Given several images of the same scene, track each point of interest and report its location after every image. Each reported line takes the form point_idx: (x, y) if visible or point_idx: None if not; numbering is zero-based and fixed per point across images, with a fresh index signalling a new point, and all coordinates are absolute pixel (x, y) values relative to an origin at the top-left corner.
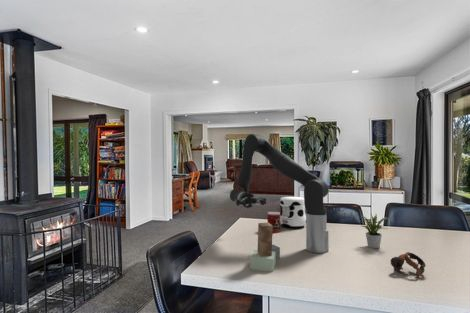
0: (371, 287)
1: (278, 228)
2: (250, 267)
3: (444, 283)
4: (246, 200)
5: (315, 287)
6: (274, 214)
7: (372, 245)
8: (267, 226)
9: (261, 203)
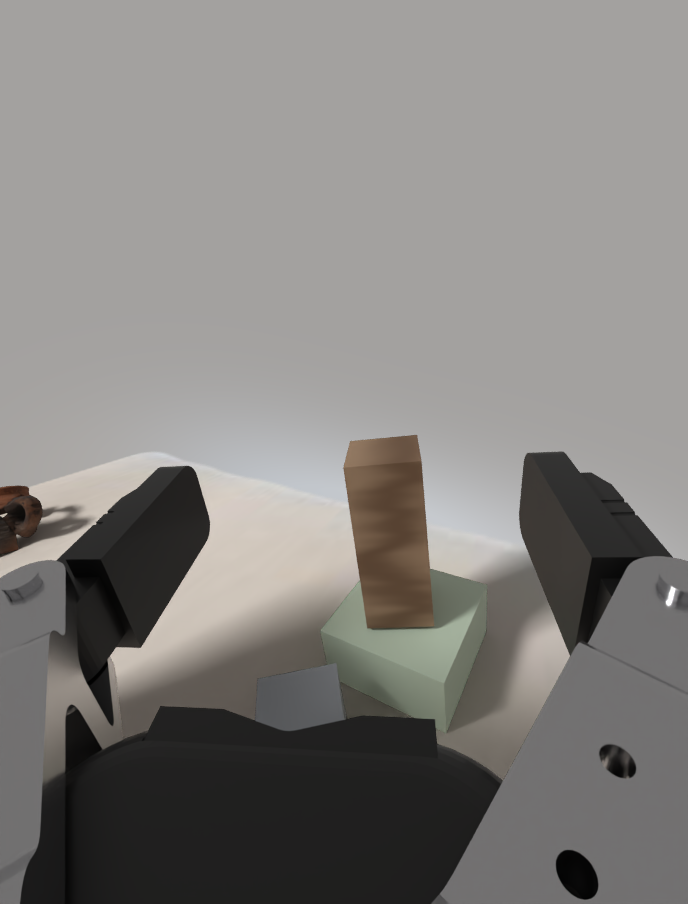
0: None
1: None
2: (485, 623)
3: (42, 495)
4: (494, 778)
5: (315, 505)
6: None
7: None
8: (382, 440)
9: (173, 563)
